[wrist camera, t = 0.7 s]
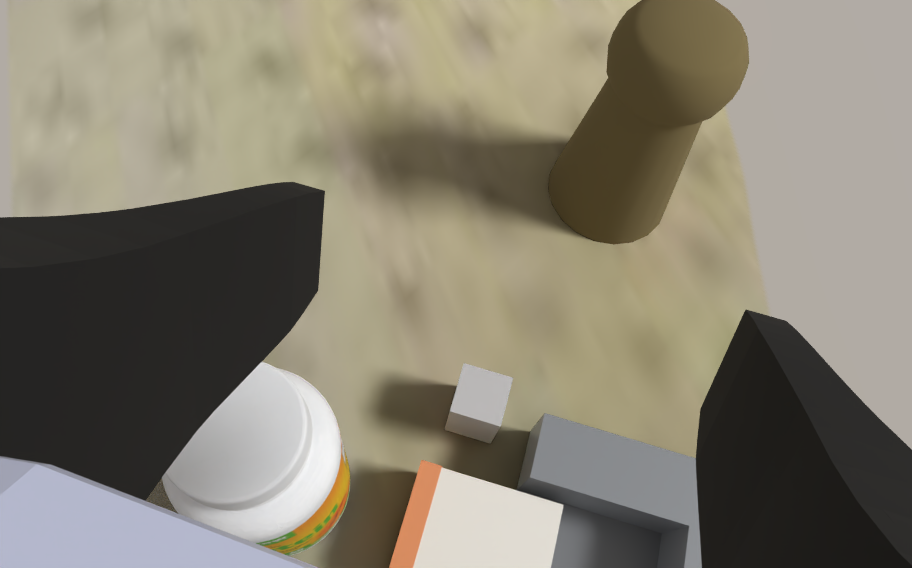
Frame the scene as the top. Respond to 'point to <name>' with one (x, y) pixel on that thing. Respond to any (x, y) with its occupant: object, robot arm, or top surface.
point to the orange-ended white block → (474, 524)
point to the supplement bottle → (265, 465)
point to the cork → (647, 116)
